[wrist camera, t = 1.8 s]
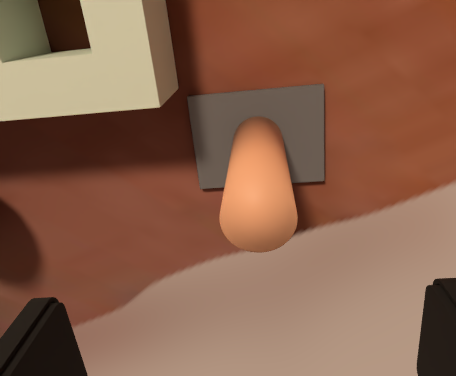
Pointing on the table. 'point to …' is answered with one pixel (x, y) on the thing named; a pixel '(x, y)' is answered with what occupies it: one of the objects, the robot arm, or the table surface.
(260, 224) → the peg
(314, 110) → the mat
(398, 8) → the table surface
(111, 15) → the socket block
